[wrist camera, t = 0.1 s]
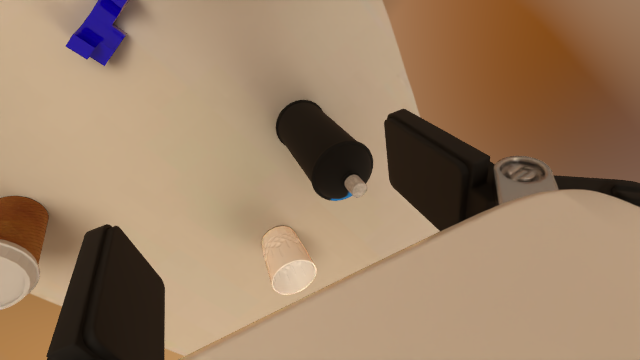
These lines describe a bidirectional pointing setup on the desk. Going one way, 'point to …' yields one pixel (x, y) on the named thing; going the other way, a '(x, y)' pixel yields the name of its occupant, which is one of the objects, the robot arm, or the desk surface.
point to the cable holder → (99, 32)
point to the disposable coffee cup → (20, 247)
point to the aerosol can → (324, 151)
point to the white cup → (287, 261)
